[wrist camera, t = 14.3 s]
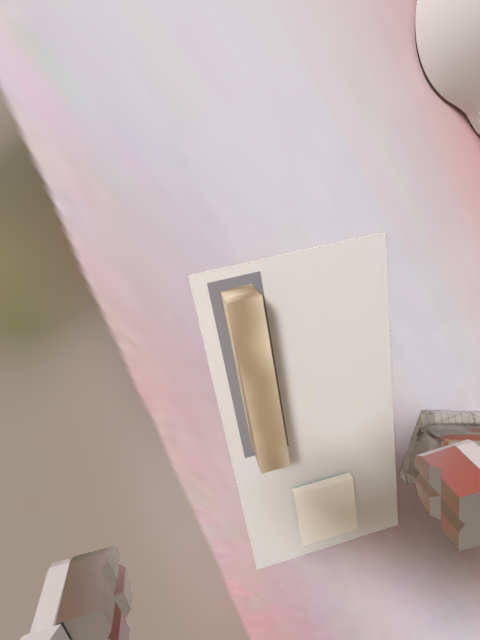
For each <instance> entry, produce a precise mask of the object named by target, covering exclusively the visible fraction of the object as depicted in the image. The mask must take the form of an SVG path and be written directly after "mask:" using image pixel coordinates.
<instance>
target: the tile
mask: <svg viewBox="0 0 480 640" xmlns="http://www.w3.org/2000/svg"><path fill="white" fill-rule="evenodd" d="M292 492H293V498H294V504H295V510H296V516H297V522H298V528H299V534H300V539H301V542H302V545H303V546H305V545H308V544H311V543H314V542H317V541H321V540H324V539H327V538H330V537H333V536H337V535H340V534H343V533H346V532H350V531H353V530H356V529H358V527H357V516H356V505H355V494H354V483H353V477H352V476H351V474H350V473H349V472H348V473H347V472H346V473H343V474H340V475H336V476H333V477H329V478H326V479H322V480H319V481H316V482H312V483H309V484H305V485H302V486H299V487H295V488H293V489H292Z"/></svg>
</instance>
